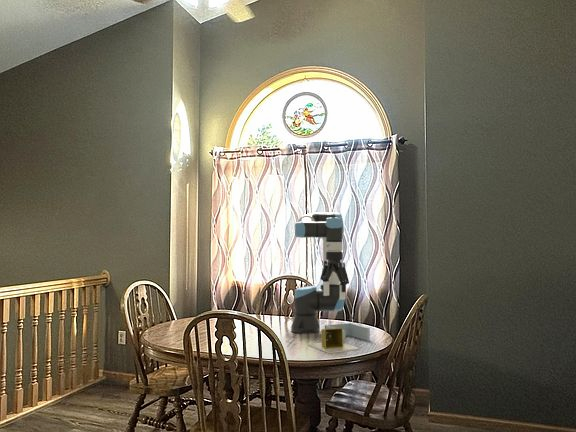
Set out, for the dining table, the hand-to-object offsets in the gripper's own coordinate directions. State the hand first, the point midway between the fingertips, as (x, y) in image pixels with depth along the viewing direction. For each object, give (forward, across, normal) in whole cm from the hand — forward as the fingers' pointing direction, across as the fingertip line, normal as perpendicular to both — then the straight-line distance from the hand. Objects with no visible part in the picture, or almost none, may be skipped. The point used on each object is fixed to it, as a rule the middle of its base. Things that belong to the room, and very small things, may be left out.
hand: (334, 297), depth 242 cm
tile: (+22, +2, -2) cm, 22 cm away
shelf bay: (+22, -10, +14) cm, 28 cm away
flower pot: (+18, -3, -2) cm, 19 cm away
